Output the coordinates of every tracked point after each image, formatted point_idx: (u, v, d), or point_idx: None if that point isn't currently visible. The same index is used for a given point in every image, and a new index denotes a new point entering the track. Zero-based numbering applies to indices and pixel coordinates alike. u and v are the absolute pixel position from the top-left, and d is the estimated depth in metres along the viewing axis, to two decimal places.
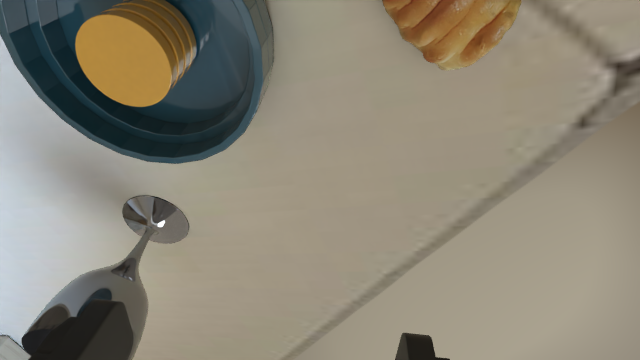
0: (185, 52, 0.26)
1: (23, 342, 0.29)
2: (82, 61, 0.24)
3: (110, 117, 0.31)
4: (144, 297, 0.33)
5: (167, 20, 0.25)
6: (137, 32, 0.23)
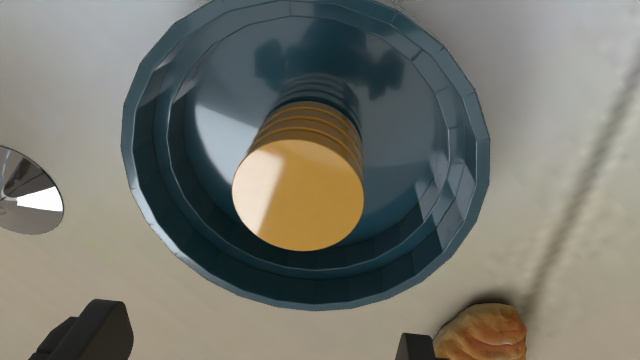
0: None
1: None
2: (267, 150, 0.16)
3: (163, 137, 0.20)
4: None
5: None
6: (352, 209, 0.17)
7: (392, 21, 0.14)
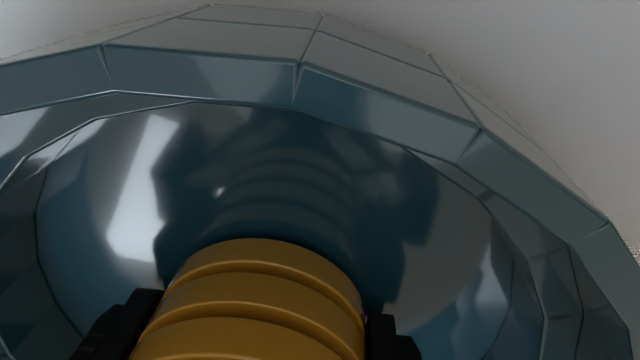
0: None
1: None
2: None
3: None
4: None
5: None
6: None
7: (462, 156, 0.05)
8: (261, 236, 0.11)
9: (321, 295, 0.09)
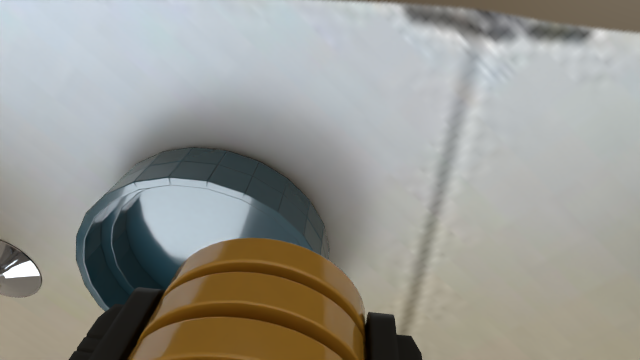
0: None
1: None
2: None
3: (109, 245, 0.28)
4: None
5: None
6: None
7: (242, 198, 0.23)
8: (213, 219, 0.29)
9: (321, 295, 0.09)
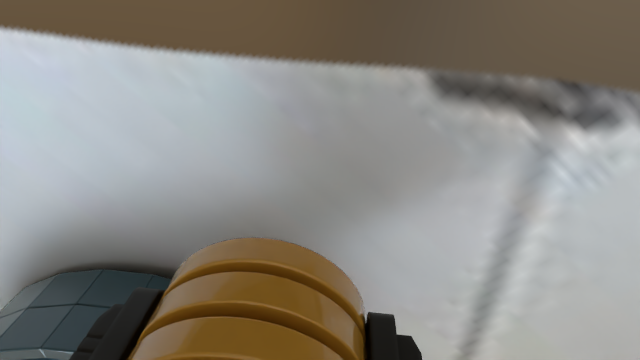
0: None
1: None
2: None
3: None
4: None
5: None
6: None
7: None
8: None
9: (321, 295, 0.09)
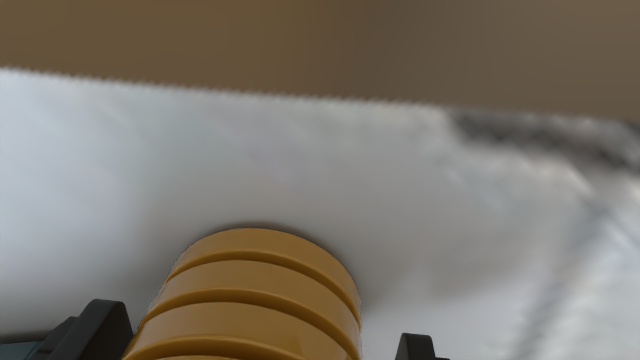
0: None
1: None
2: None
3: None
4: None
5: None
6: None
7: None
8: None
9: (317, 283, 0.10)
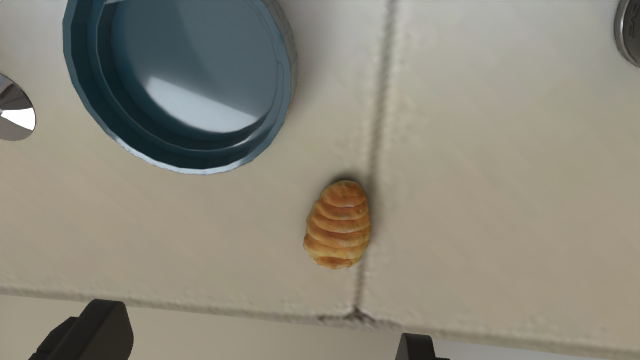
0: None
1: None
2: None
3: (94, 51, 0.31)
4: None
5: None
6: None
7: None
8: (190, 29, 0.31)
9: None
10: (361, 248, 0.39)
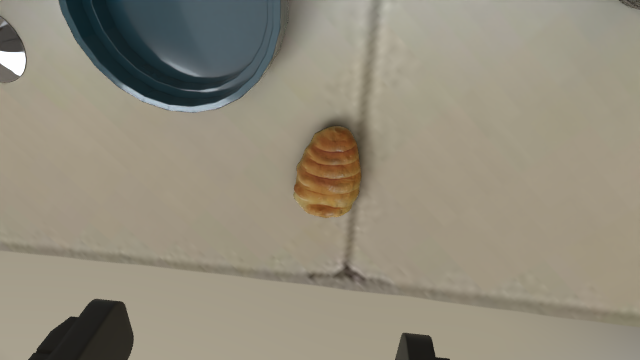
0: None
1: None
2: None
3: None
4: None
5: None
6: None
7: None
8: None
9: None
10: (351, 197, 0.39)
